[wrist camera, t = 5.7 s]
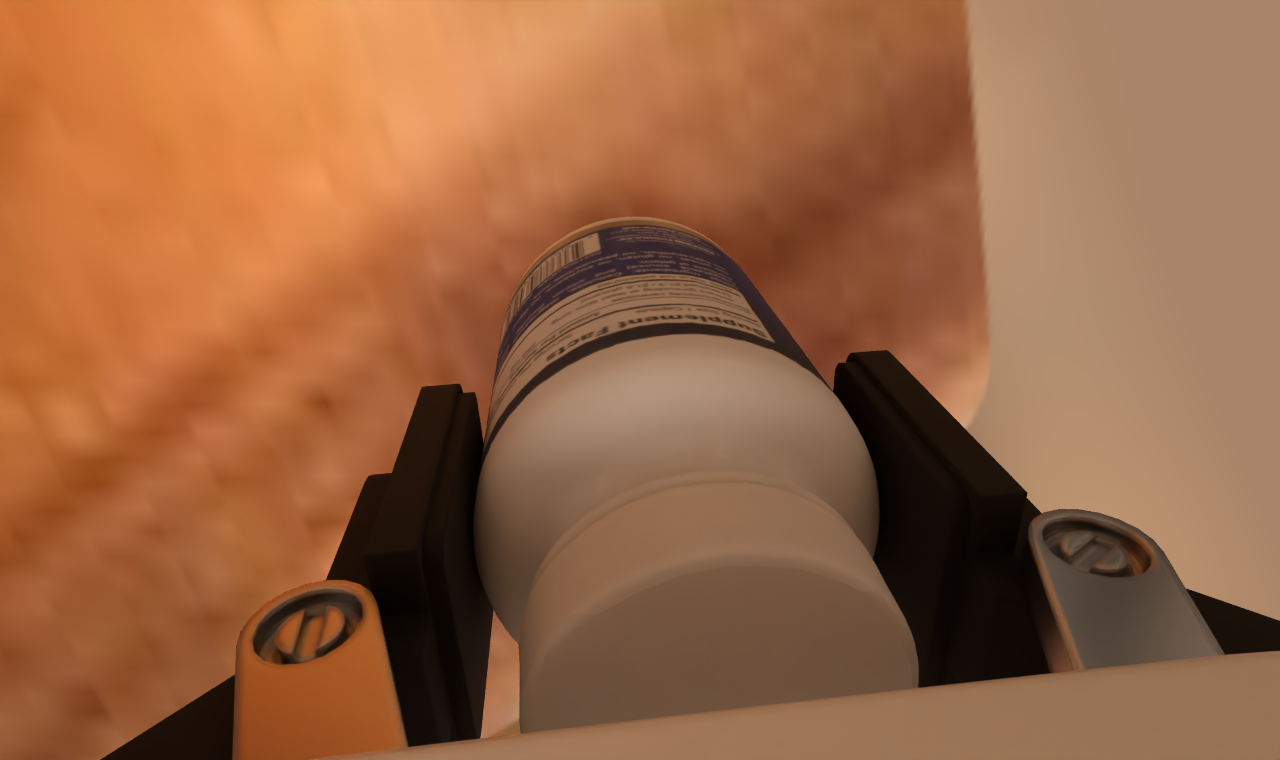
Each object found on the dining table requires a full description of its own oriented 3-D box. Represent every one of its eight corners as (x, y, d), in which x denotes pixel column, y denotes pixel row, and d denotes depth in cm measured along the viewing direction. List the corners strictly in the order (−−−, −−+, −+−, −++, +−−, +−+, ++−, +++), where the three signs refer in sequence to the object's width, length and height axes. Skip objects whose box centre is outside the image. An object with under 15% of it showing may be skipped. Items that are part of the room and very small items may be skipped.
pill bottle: (750, 439, 18) (944, 864, 9) (514, 453, 17) (472, 918, 8) (765, 204, 15) (1050, 469, 6) (491, 213, 15) (400, 514, 6)
